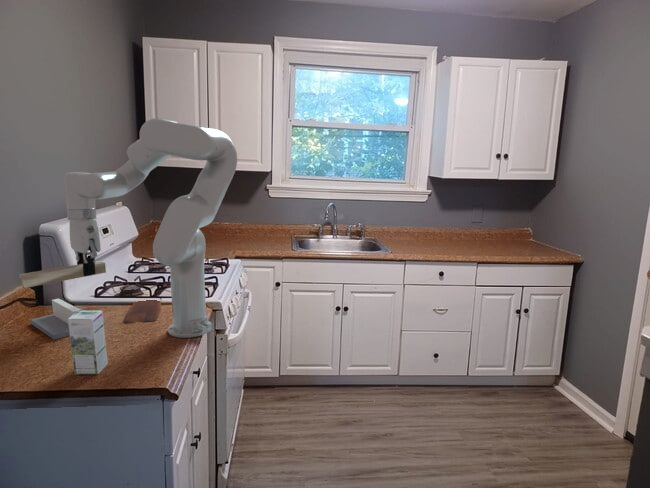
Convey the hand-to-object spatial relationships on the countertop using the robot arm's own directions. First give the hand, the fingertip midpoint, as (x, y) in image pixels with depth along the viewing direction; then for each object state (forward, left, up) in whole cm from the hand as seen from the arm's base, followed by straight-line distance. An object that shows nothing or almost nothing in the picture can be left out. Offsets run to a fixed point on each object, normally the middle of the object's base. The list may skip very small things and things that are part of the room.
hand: (86, 273), depth 134 cm
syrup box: (-31, +13, -16) cm, 38 cm away
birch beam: (0, +6, 0) cm, 6 cm away
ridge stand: (+3, +5, -16) cm, 17 cm away
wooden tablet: (0, -18, -17) cm, 24 cm away
